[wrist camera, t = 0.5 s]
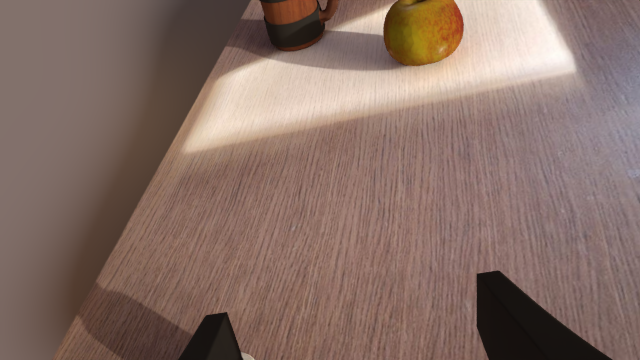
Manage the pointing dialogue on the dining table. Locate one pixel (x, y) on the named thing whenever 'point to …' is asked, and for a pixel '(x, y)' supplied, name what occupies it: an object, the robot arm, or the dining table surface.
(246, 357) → the pill bottle
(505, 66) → the dining table surface
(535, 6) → the dining table surface
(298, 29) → the mug
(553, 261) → the dining table surface
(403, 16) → the fruit
